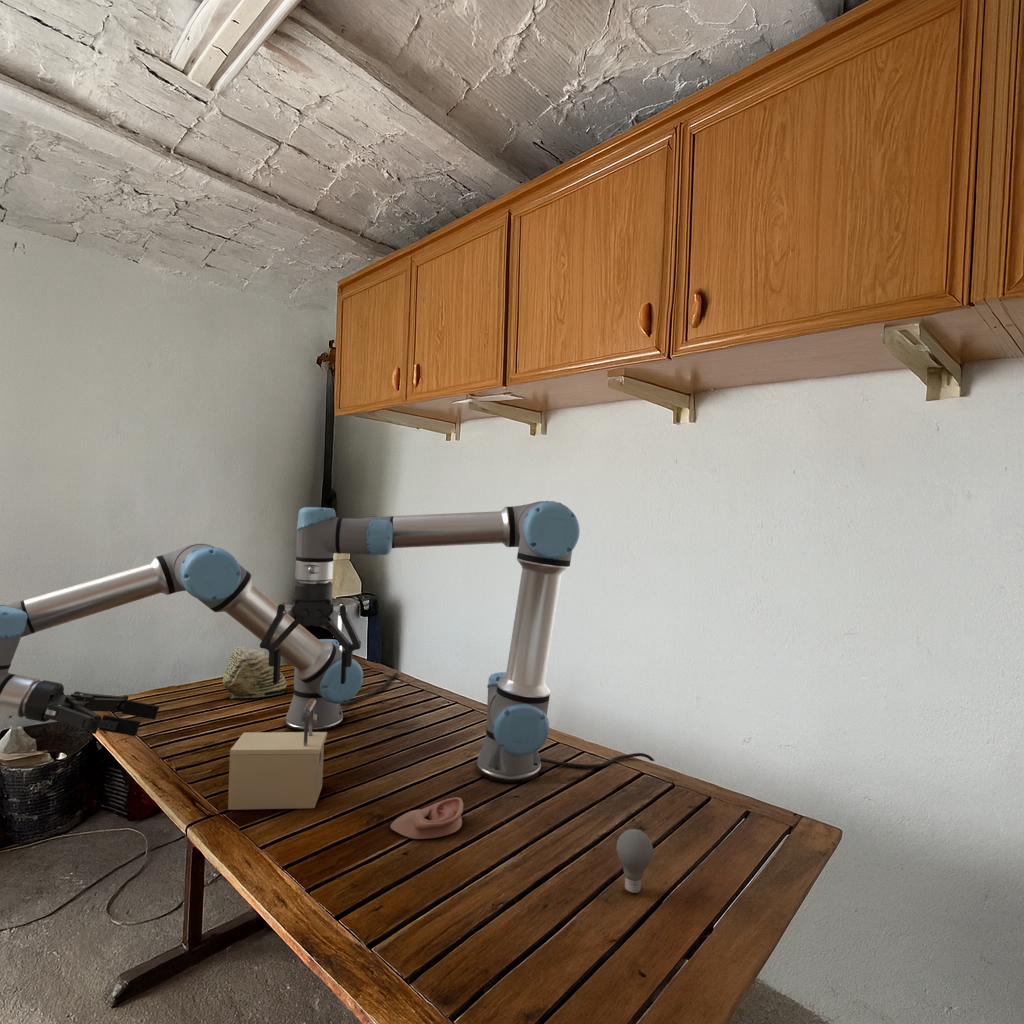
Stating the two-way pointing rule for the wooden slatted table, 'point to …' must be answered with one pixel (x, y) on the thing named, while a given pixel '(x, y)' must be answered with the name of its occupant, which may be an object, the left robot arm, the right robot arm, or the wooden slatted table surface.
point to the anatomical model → (431, 820)
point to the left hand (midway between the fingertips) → (148, 720)
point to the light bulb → (634, 857)
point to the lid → (283, 739)
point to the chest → (275, 781)
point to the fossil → (251, 675)
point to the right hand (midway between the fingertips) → (310, 682)
